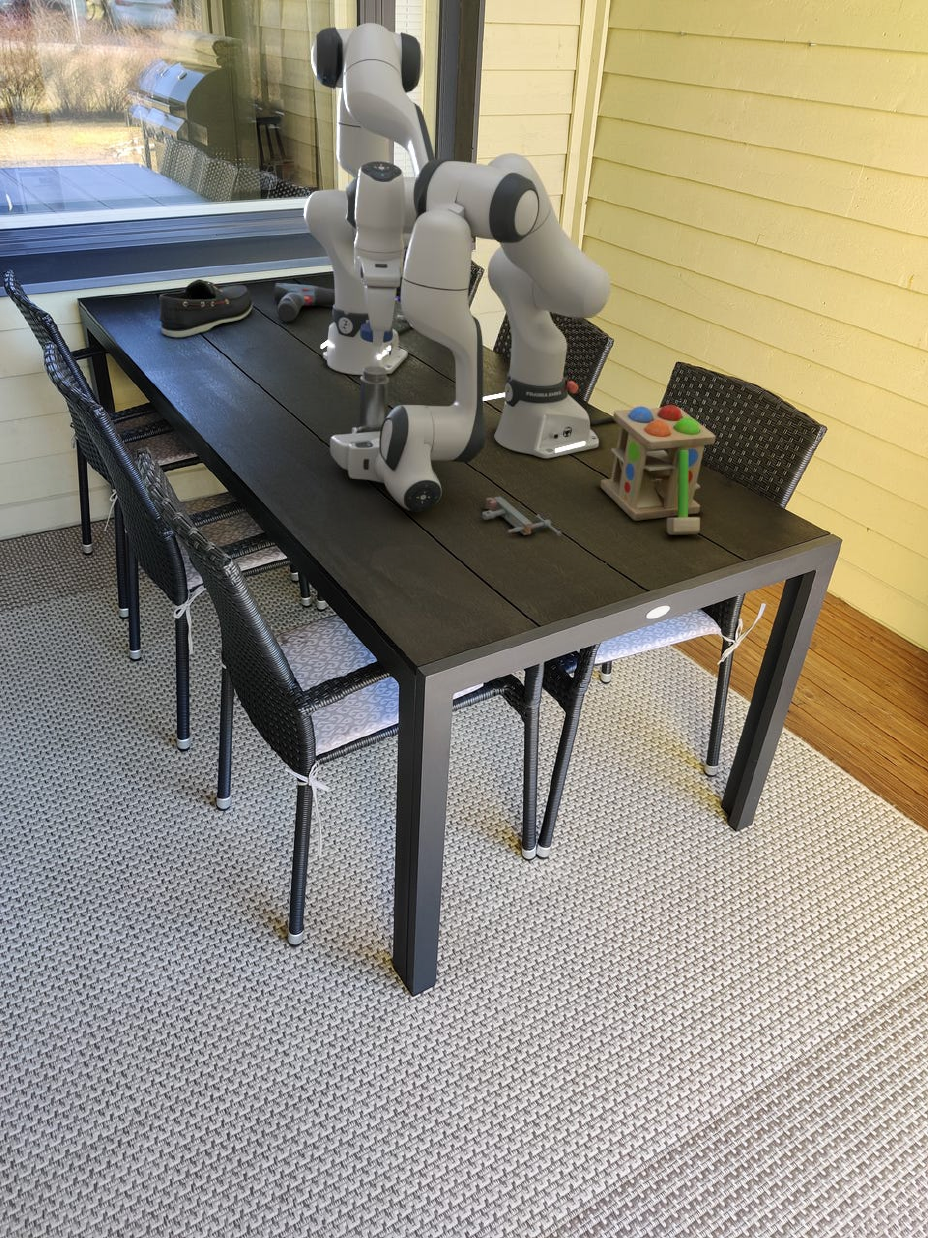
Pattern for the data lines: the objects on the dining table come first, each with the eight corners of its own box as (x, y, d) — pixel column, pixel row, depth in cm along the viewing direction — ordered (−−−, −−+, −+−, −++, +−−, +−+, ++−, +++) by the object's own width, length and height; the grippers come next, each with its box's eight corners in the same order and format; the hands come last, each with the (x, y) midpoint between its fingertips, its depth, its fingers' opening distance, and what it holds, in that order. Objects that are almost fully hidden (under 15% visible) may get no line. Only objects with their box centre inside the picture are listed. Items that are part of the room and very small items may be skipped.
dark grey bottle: (385, 461, 195) (388, 376, 185) (357, 459, 194) (359, 373, 184) (386, 450, 199) (390, 365, 189) (359, 448, 199) (361, 363, 189)
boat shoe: (271, 314, 265) (269, 274, 259) (179, 339, 241) (175, 296, 235) (235, 305, 270) (233, 266, 265) (143, 329, 246) (138, 287, 241)
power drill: (335, 306, 256) (344, 285, 273) (264, 300, 255) (277, 279, 272) (335, 327, 259) (344, 304, 276) (264, 320, 258) (277, 299, 275)
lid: (373, 329, 187) (373, 319, 186) (399, 337, 184) (399, 327, 183) (353, 337, 183) (353, 327, 182) (379, 345, 180) (380, 335, 179)
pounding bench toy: (723, 535, 180) (747, 445, 170) (656, 543, 176) (676, 451, 166) (661, 480, 198) (680, 395, 188) (598, 486, 193) (614, 400, 183)
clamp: (472, 500, 179) (518, 491, 183) (471, 511, 180) (516, 501, 185) (516, 538, 168) (563, 528, 173) (514, 550, 170) (562, 539, 174)
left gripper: (357, 246, 184) (356, 319, 191) (364, 278, 167) (362, 357, 175) (391, 247, 185) (388, 320, 192) (401, 280, 168) (397, 358, 176)
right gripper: (446, 438, 186) (421, 410, 197) (342, 448, 179) (322, 418, 189) (444, 468, 190) (419, 439, 200) (342, 479, 182) (322, 448, 193)
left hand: (376, 338), depth 184 cm, fingers closed on lid, 6 cm apart
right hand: (371, 429), depth 195 cm, fingers closed on dark grey bottle, 5 cm apart
